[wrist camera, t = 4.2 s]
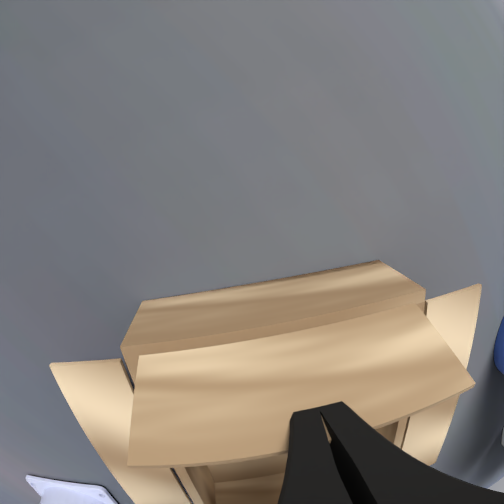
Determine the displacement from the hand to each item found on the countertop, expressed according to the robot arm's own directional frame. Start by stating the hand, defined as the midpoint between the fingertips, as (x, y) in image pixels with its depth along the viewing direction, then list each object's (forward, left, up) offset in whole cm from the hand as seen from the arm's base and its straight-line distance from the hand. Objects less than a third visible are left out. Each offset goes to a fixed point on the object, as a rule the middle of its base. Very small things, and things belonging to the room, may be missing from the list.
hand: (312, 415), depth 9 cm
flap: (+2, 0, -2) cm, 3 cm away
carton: (-5, 0, -6) cm, 8 cm away
